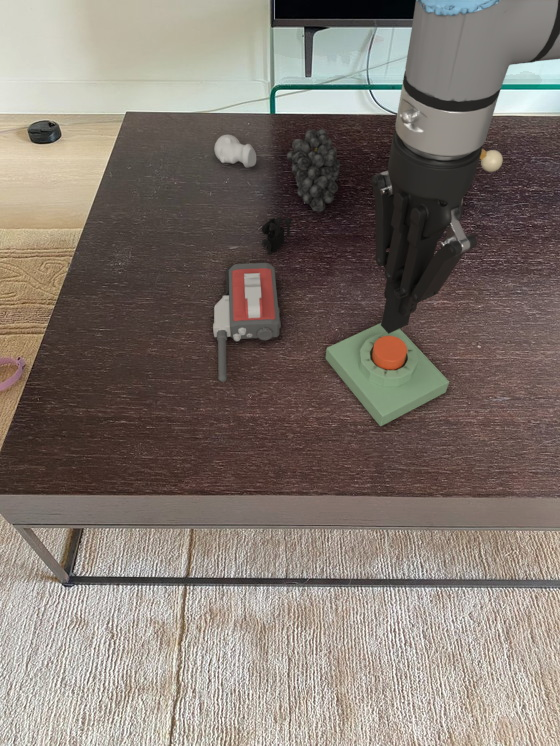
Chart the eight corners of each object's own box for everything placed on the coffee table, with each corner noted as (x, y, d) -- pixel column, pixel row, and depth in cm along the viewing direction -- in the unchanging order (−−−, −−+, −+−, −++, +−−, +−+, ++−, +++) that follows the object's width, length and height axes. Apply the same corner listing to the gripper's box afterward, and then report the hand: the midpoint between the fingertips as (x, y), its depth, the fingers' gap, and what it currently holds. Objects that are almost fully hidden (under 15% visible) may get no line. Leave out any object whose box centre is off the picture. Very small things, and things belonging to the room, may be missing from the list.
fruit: (334, 173, 89) (331, 114, 98) (279, 187, 91) (281, 128, 100) (348, 218, 95) (344, 159, 104) (297, 231, 98) (297, 172, 107)
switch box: (445, 392, 77) (453, 372, 74) (380, 426, 74) (384, 408, 70) (387, 329, 83) (392, 308, 80) (325, 358, 80) (327, 338, 77)
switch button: (411, 362, 75) (414, 352, 74) (384, 375, 74) (386, 366, 72) (391, 340, 77) (393, 330, 76) (365, 352, 76) (367, 343, 74)
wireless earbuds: (266, 263, 91) (265, 236, 87) (252, 256, 92) (251, 229, 88) (293, 237, 94) (294, 210, 90) (279, 231, 95) (280, 204, 91)
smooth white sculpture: (211, 162, 108) (231, 143, 109) (242, 181, 104) (263, 161, 105) (203, 144, 104) (224, 124, 105) (235, 163, 100) (256, 142, 101)
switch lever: (493, 167, 98) (507, 153, 96) (491, 179, 96) (507, 165, 94) (426, 122, 95) (440, 106, 93) (424, 133, 93) (438, 117, 91)
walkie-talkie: (214, 275, 89) (214, 387, 77) (211, 252, 86) (211, 366, 73) (275, 272, 89) (285, 384, 77) (275, 249, 86) (285, 362, 74)
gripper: (357, 112, 54) (335, 301, 73) (454, 192, 47) (402, 377, 66) (424, 90, 57) (386, 278, 75) (526, 163, 50) (457, 350, 68)
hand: (394, 325), depth 71 cm, fingers closed
